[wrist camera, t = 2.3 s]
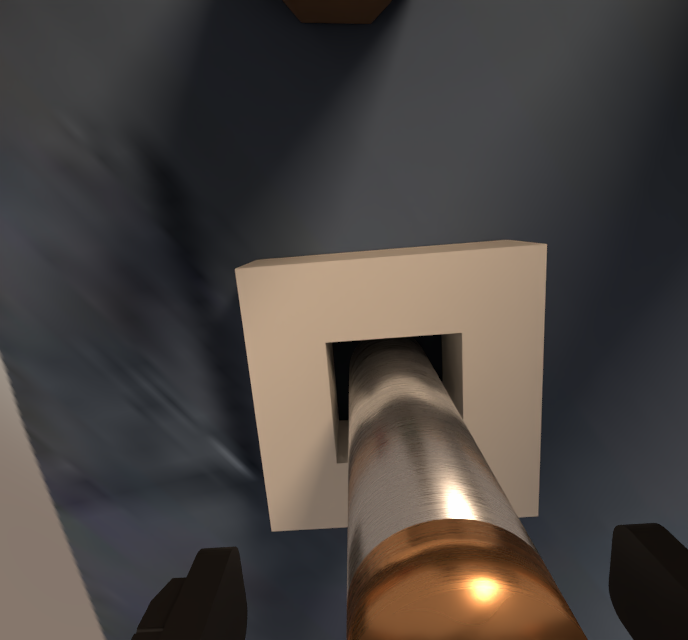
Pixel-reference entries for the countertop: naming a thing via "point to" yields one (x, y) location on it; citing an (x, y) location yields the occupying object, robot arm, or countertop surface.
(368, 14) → the beer bottle
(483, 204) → the countertop surface
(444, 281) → the socket block
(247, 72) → the countertop surface
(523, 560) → the plug
